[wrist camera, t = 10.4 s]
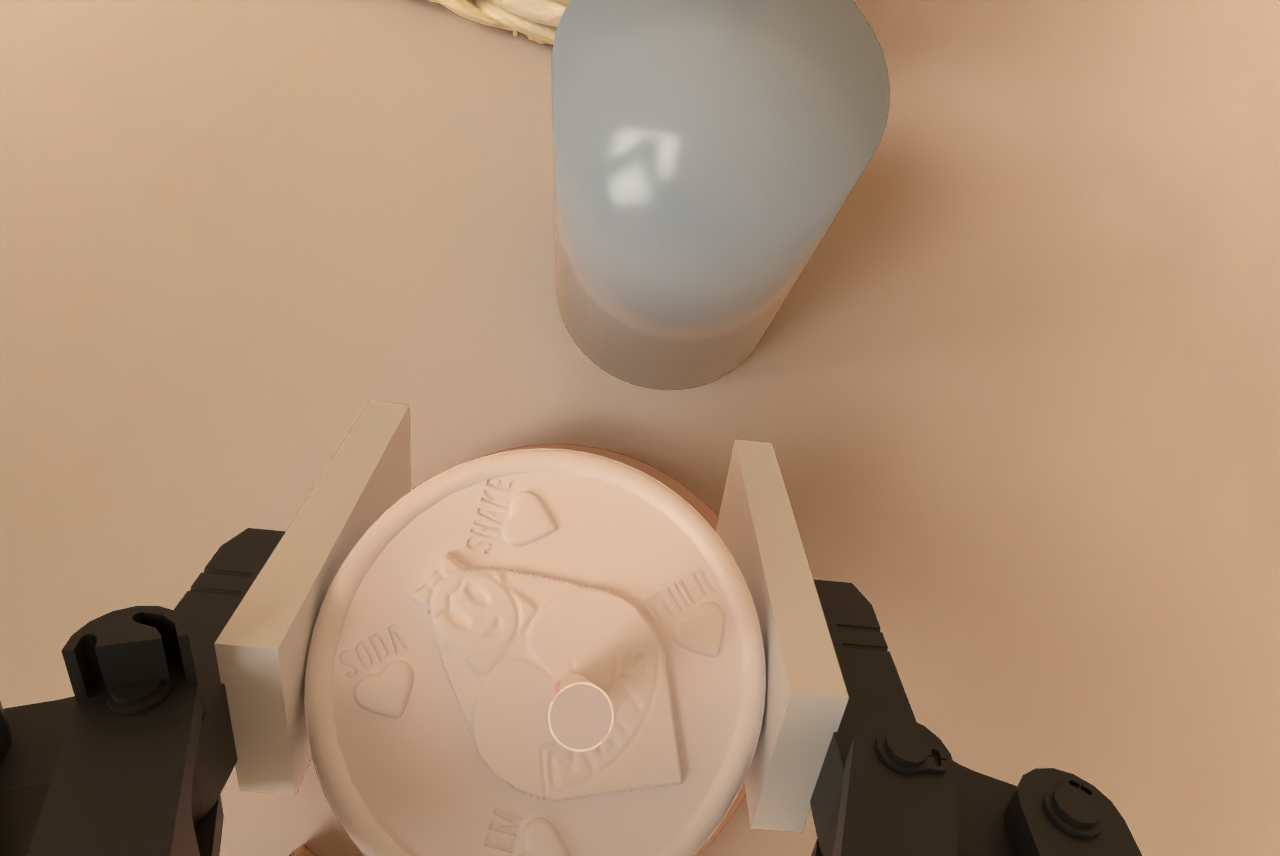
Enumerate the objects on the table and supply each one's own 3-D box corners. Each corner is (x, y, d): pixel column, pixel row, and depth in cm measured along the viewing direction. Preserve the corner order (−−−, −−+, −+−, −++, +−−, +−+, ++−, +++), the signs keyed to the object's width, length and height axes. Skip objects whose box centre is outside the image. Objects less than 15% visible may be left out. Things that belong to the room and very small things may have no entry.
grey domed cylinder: (510, 294, 26) (477, 74, 16) (650, 154, 27) (697, -118, 18) (681, 434, 25) (754, 292, 15) (813, 280, 27) (953, 67, 17)
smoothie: (569, 862, 19) (588, 1347, 6) (364, 690, 20) (-58, 754, 6) (726, 641, 21) (1026, 605, 7) (532, 488, 21) (486, 201, 8)
